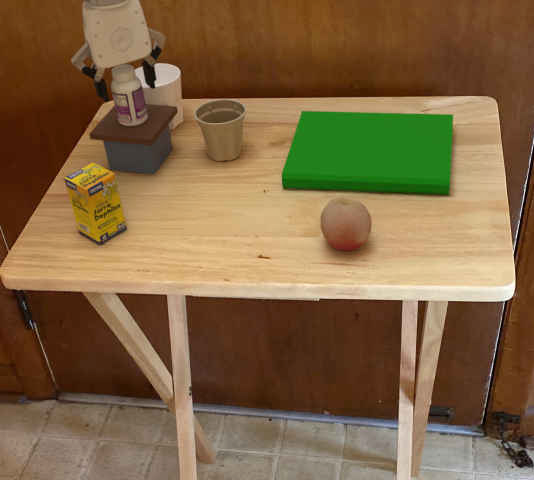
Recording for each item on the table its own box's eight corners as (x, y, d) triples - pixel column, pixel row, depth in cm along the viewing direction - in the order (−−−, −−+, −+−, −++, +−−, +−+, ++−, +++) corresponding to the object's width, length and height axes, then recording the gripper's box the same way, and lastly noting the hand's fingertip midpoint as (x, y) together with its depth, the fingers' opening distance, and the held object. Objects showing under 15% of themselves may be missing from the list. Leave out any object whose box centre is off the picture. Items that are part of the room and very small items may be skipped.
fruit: (373, 230, 130) (373, 187, 125) (369, 261, 124) (369, 218, 119) (323, 228, 132) (322, 186, 126) (317, 259, 126) (315, 216, 120)
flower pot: (209, 138, 156) (203, 96, 150) (256, 142, 153) (252, 100, 147) (193, 164, 149) (186, 122, 143) (242, 168, 147) (237, 125, 141)
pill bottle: (143, 109, 149) (133, 59, 142) (152, 122, 145) (142, 71, 139) (114, 117, 147) (103, 67, 141) (123, 130, 144) (112, 79, 137)
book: (302, 125, 157) (302, 110, 155) (451, 129, 152) (453, 114, 149) (282, 189, 141) (281, 174, 139) (448, 196, 135) (450, 181, 133)
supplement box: (100, 246, 132) (85, 189, 125) (78, 233, 136) (62, 177, 128) (128, 229, 135) (115, 172, 128) (105, 216, 139) (91, 161, 131)
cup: (192, 128, 159) (185, 81, 152) (142, 139, 157) (132, 91, 151) (181, 105, 166) (174, 59, 160) (133, 115, 165) (124, 69, 158)
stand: (158, 180, 146) (150, 139, 140) (98, 173, 149) (88, 133, 144) (183, 146, 154) (176, 106, 149) (126, 140, 158) (117, 101, 152)
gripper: (62, 12, 126) (87, 115, 138) (166, -15, 131) (181, 87, 143) (48, -3, 131) (74, 98, 143) (149, -28, 136) (165, 71, 148)
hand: (127, 92), depth 143 cm, fingers open, 8 cm apart
